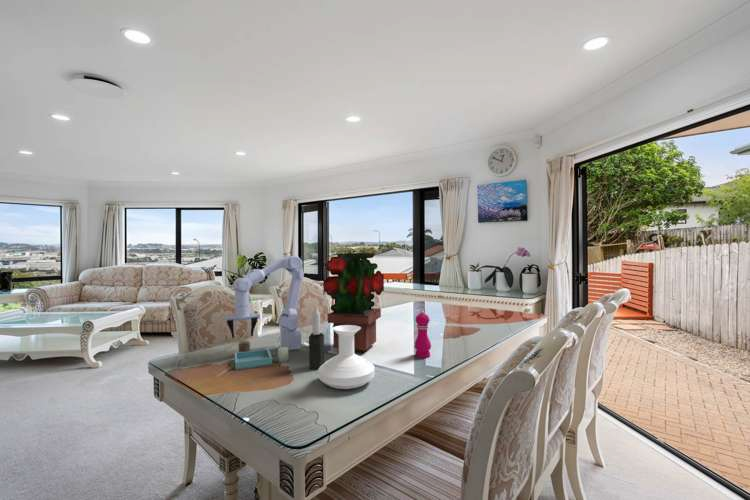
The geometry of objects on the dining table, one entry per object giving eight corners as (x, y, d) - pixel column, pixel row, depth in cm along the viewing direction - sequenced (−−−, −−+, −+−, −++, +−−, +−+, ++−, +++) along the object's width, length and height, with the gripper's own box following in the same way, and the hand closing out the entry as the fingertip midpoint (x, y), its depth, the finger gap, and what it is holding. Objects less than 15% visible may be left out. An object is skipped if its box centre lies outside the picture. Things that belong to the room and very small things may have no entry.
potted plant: (324, 353, 158) (323, 254, 158) (342, 340, 180) (341, 253, 179) (370, 357, 152) (369, 253, 152) (384, 343, 173) (383, 252, 173)
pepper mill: (430, 353, 157) (430, 308, 157) (431, 358, 150) (431, 311, 149) (414, 353, 157) (414, 308, 157) (414, 358, 150) (414, 311, 150)
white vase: (346, 368, 138) (345, 320, 138) (386, 380, 125) (385, 326, 125) (306, 384, 123) (305, 329, 123) (347, 399, 110) (347, 338, 110)
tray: (268, 355, 156) (268, 348, 156) (272, 365, 143) (272, 357, 143) (234, 359, 151) (234, 352, 150) (235, 370, 138) (235, 362, 138)
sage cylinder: (287, 357, 153) (287, 346, 152) (289, 360, 148) (289, 349, 148) (277, 359, 151) (276, 347, 151) (278, 362, 147) (278, 350, 147)
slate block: (274, 352, 161) (274, 346, 161) (275, 355, 157) (275, 348, 157) (265, 353, 159) (265, 347, 159) (266, 356, 156) (266, 349, 156)
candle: (320, 369, 137) (319, 306, 137) (308, 369, 138) (307, 305, 138) (325, 365, 142) (324, 304, 142) (313, 364, 143) (312, 303, 143)
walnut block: (249, 353, 160) (249, 340, 160) (249, 356, 155) (249, 342, 155) (238, 354, 158) (238, 341, 158) (238, 357, 154) (238, 344, 154)
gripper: (258, 302, 160) (259, 332, 160) (223, 305, 154) (224, 336, 154) (260, 305, 153) (260, 336, 153) (224, 307, 147) (224, 340, 148)
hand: (242, 336), depth 153 cm, fingers open, 7 cm apart
